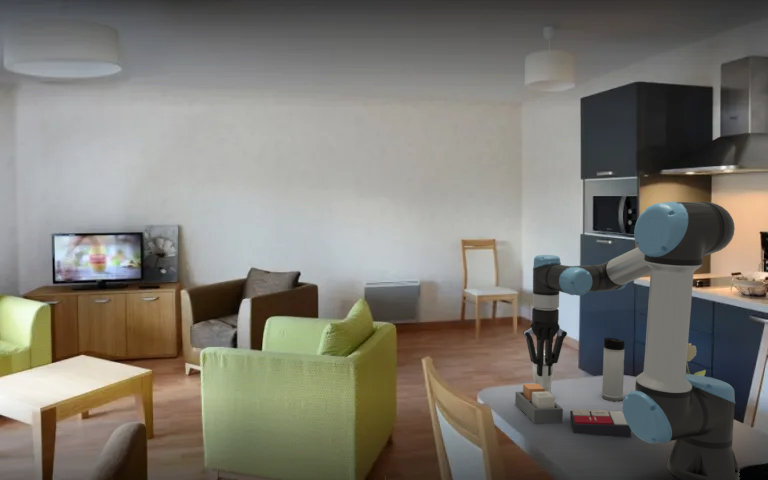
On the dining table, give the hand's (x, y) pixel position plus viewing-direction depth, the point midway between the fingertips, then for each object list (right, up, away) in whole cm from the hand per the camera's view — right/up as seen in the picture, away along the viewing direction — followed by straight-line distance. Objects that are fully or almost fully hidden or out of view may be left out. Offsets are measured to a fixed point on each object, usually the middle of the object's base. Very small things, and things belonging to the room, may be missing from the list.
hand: (543, 386), depth 179 cm
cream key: (0, -6, 0) cm, 6 cm away
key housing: (0, -9, +4) cm, 10 cm away
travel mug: (+27, -8, +18) cm, 34 cm away
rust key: (-1, -6, +8) cm, 10 cm away
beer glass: (+5, -8, +19) cm, 21 cm away
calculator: (+14, -11, -7) cm, 19 cm away
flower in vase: (+39, -11, -9) cm, 42 cm away
